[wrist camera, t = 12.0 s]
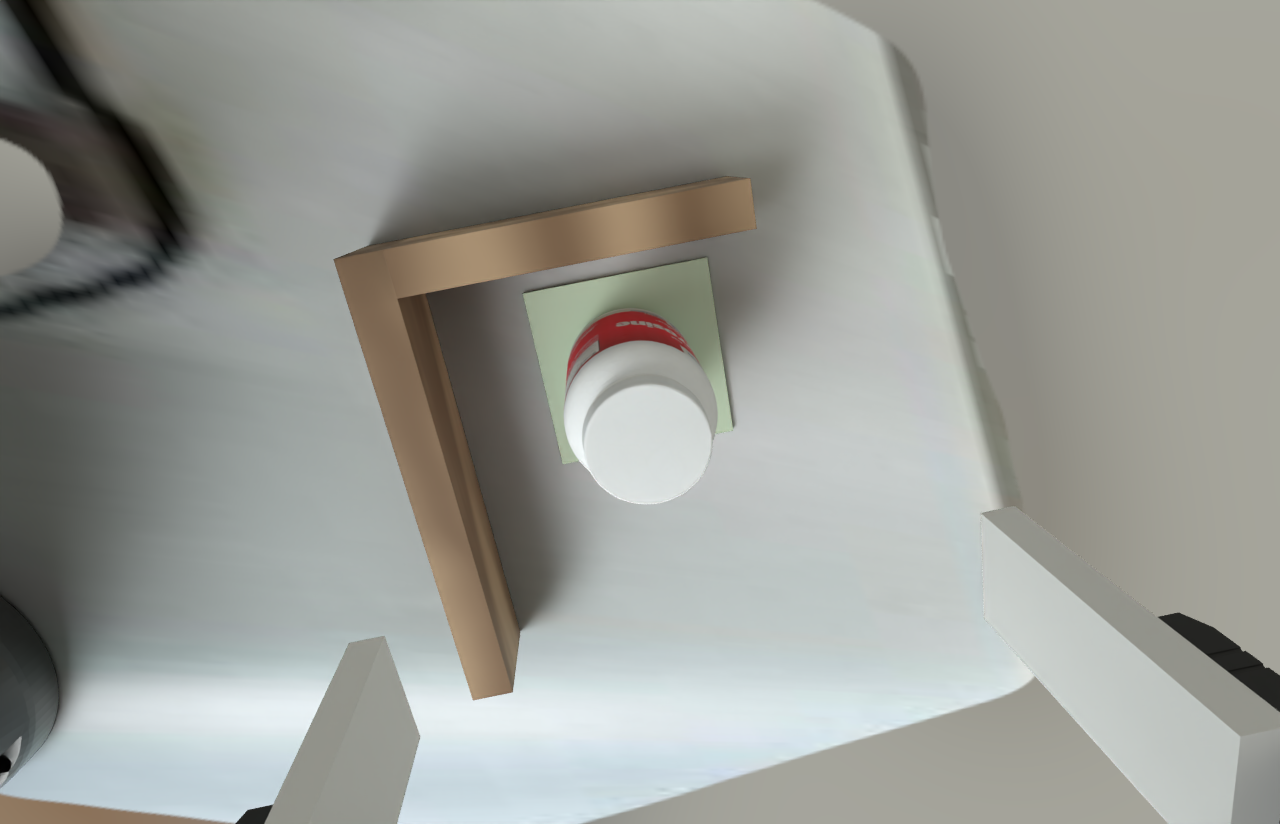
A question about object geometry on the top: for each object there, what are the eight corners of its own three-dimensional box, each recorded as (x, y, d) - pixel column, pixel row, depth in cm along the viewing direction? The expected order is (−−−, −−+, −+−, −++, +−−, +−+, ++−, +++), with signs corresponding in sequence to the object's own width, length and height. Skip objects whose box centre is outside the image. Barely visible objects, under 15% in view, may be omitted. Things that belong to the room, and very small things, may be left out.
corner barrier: (485, 638, 41) (473, 700, 37) (367, 246, 34) (333, 259, 29) (781, 578, 42) (807, 631, 37) (726, 176, 34) (750, 178, 30)
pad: (562, 462, 38) (562, 464, 38) (522, 293, 35) (522, 293, 35) (732, 429, 39) (733, 430, 38) (706, 257, 36) (707, 257, 35)
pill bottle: (715, 351, 37) (768, 426, 26) (643, 446, 38) (667, 553, 28) (613, 279, 35) (628, 328, 25) (542, 381, 37) (527, 467, 26)
